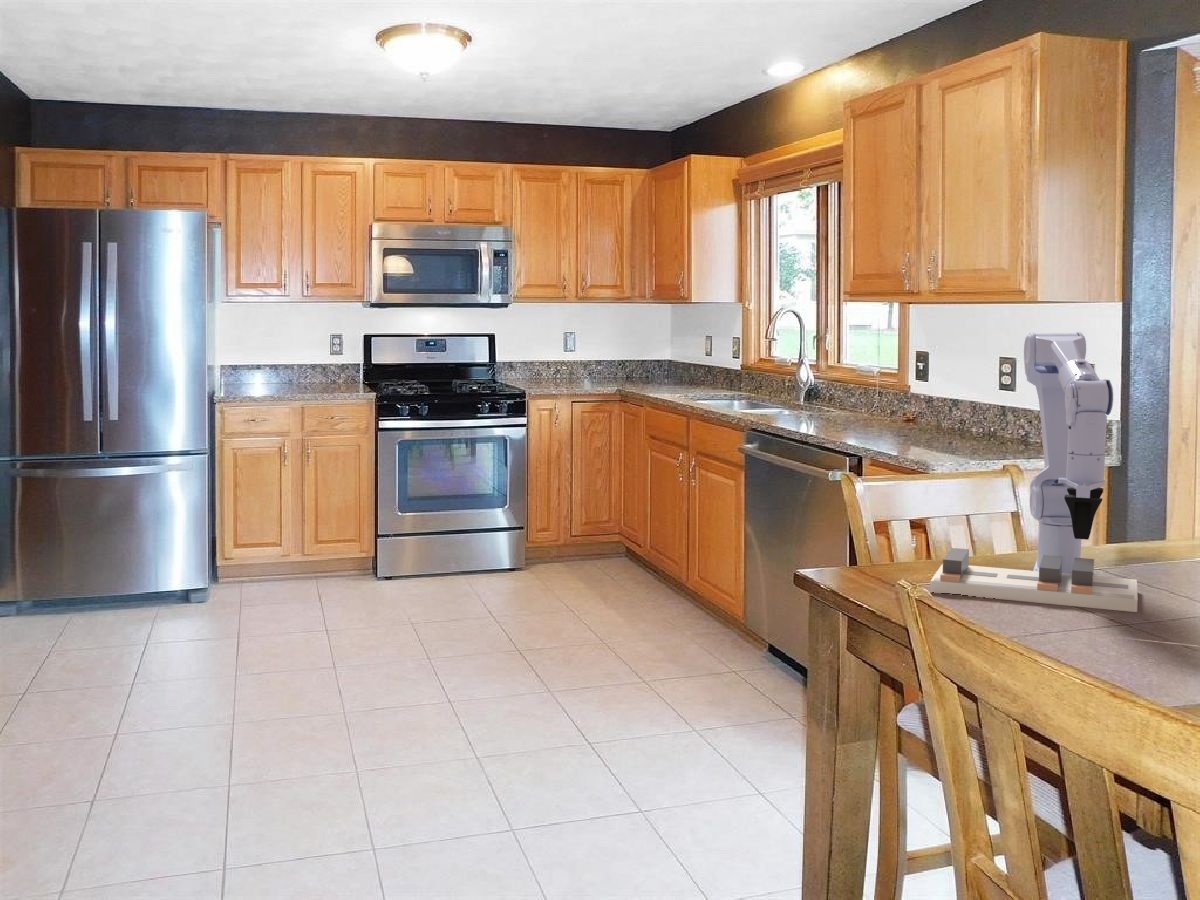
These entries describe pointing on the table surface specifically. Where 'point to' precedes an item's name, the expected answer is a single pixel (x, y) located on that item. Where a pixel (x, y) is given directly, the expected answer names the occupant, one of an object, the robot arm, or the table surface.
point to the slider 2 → (1083, 572)
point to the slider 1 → (956, 561)
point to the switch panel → (1038, 588)
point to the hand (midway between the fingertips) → (1082, 534)
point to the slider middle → (1050, 569)
